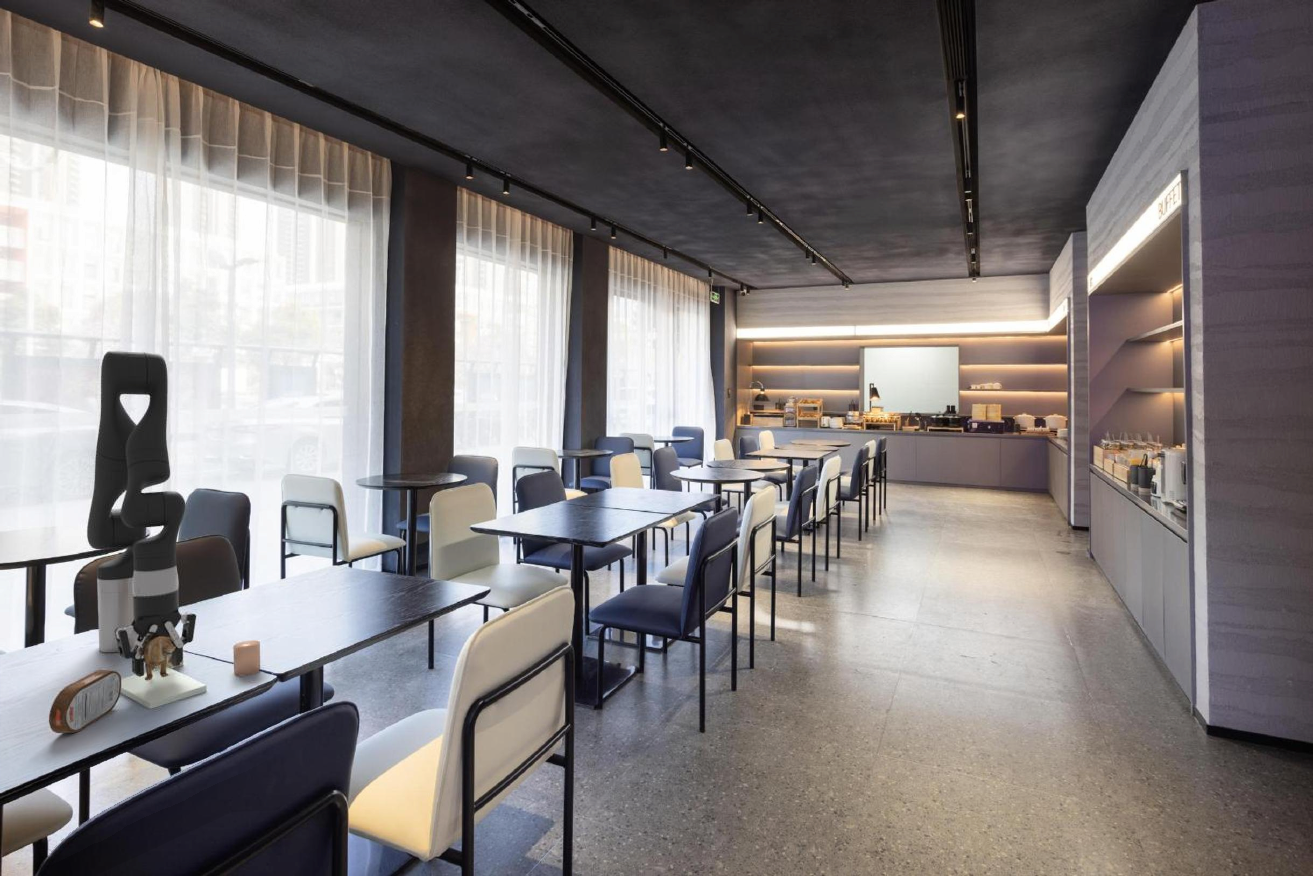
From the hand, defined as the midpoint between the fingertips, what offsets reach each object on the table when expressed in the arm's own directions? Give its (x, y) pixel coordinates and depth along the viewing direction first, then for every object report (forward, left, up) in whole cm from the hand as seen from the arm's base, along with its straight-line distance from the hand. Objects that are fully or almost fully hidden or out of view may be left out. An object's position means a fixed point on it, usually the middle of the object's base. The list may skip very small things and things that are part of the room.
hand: (158, 670), depth 141 cm
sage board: (0, 0, -4) cm, 4 cm away
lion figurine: (-1, +1, -1) cm, 2 cm away
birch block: (-13, +6, -4) cm, 15 cm away
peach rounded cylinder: (+5, +15, -4) cm, 16 cm away
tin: (+6, -14, -4) cm, 15 cm away
